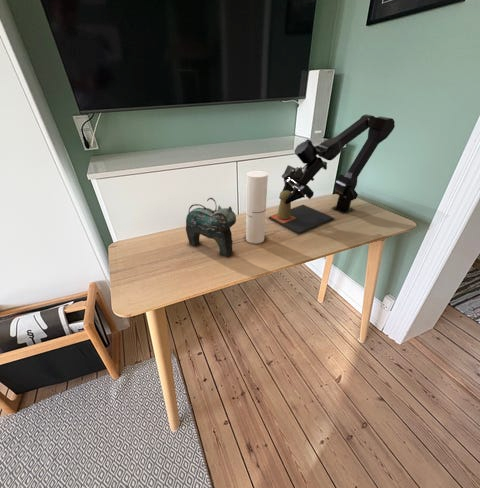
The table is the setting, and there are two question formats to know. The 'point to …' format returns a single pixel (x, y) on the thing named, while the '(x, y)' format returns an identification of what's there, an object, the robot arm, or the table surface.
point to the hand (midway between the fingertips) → (282, 200)
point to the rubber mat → (302, 219)
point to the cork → (284, 205)
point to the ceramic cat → (211, 226)
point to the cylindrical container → (256, 205)
